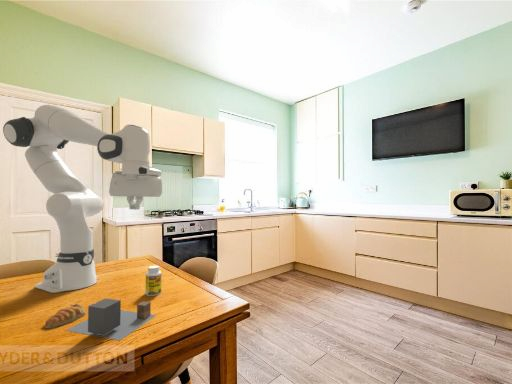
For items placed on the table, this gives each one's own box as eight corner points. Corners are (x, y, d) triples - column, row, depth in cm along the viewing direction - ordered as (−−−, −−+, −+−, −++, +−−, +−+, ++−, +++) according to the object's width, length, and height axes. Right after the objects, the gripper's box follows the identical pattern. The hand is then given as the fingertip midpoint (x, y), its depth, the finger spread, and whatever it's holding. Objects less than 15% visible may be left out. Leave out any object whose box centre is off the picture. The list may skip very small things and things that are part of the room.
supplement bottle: (146, 298, 89) (147, 269, 90) (144, 293, 94) (144, 266, 94) (162, 294, 93) (163, 267, 93) (159, 290, 97) (159, 264, 97)
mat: (65, 331, 67) (65, 330, 67) (109, 309, 80) (109, 308, 80) (119, 342, 62) (119, 340, 62) (156, 316, 75) (156, 315, 75)
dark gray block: (87, 332, 64) (88, 306, 64) (105, 322, 69) (105, 298, 69) (103, 334, 63) (104, 308, 63) (120, 324, 68) (120, 300, 68)
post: (137, 318, 73) (137, 304, 73) (143, 314, 76) (143, 301, 76) (144, 319, 73) (144, 305, 73) (150, 315, 75) (150, 302, 75)
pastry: (57, 332, 67) (57, 317, 67) (37, 329, 69) (37, 315, 69) (87, 316, 76) (87, 303, 76) (69, 314, 78) (69, 301, 78)
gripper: (105, 170, 89) (103, 208, 88) (153, 169, 83) (152, 210, 82) (119, 172, 95) (118, 208, 94) (165, 171, 89) (164, 210, 89)
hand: (134, 209), depth 88 cm, fingers closed
